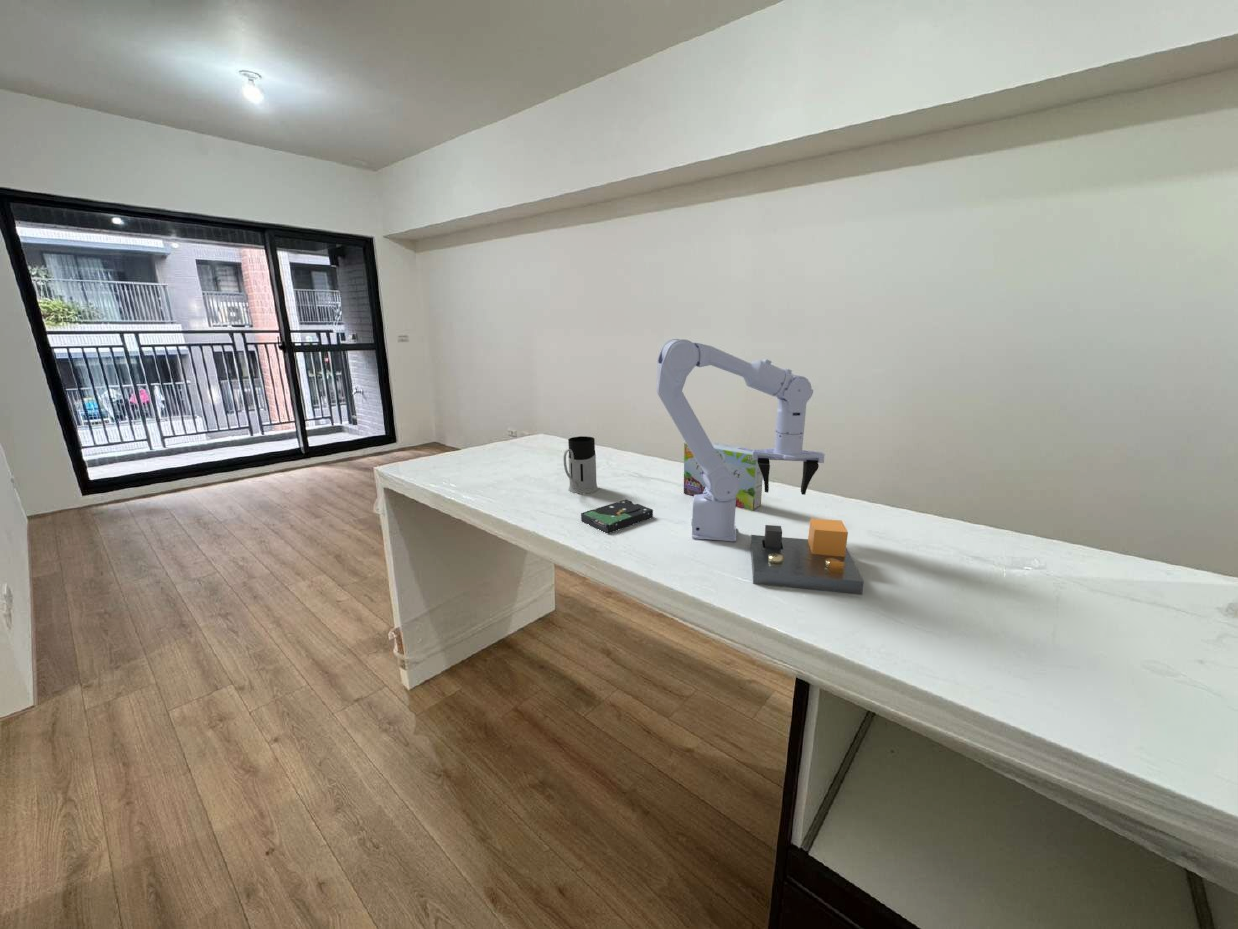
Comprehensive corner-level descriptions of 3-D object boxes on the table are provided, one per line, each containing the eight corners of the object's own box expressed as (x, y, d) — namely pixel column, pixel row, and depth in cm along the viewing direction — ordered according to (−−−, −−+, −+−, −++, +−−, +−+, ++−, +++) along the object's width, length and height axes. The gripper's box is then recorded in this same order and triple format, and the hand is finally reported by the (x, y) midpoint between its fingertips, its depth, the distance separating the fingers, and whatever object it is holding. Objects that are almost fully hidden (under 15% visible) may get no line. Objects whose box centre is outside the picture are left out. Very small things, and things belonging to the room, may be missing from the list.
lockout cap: (812, 553, 90) (814, 529, 89) (807, 541, 96) (810, 518, 94) (844, 556, 89) (848, 532, 88) (838, 543, 94) (841, 520, 93)
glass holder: (603, 486, 140) (602, 437, 136) (580, 501, 128) (578, 447, 124) (577, 483, 144) (575, 435, 140) (552, 497, 131) (549, 445, 127)
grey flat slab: (753, 583, 85) (754, 560, 84) (750, 545, 100) (751, 526, 99) (861, 594, 81) (865, 570, 80) (842, 553, 96) (844, 532, 95)
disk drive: (625, 508, 124) (580, 523, 114) (625, 498, 123) (580, 512, 114) (653, 519, 116) (607, 536, 107) (653, 509, 116) (607, 524, 106)
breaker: (764, 549, 94) (766, 530, 92) (764, 543, 96) (765, 524, 95) (780, 550, 93) (782, 531, 92) (779, 544, 96) (780, 525, 95)
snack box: (682, 494, 132) (683, 442, 128) (692, 489, 136) (694, 438, 132) (752, 511, 119) (756, 453, 115) (762, 505, 123) (766, 449, 119)
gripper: (754, 434, 98) (751, 495, 102) (829, 436, 95) (822, 500, 99) (753, 428, 105) (750, 485, 109) (823, 430, 102) (817, 489, 105)
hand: (784, 492), depth 104 cm, fingers open, 7 cm apart
